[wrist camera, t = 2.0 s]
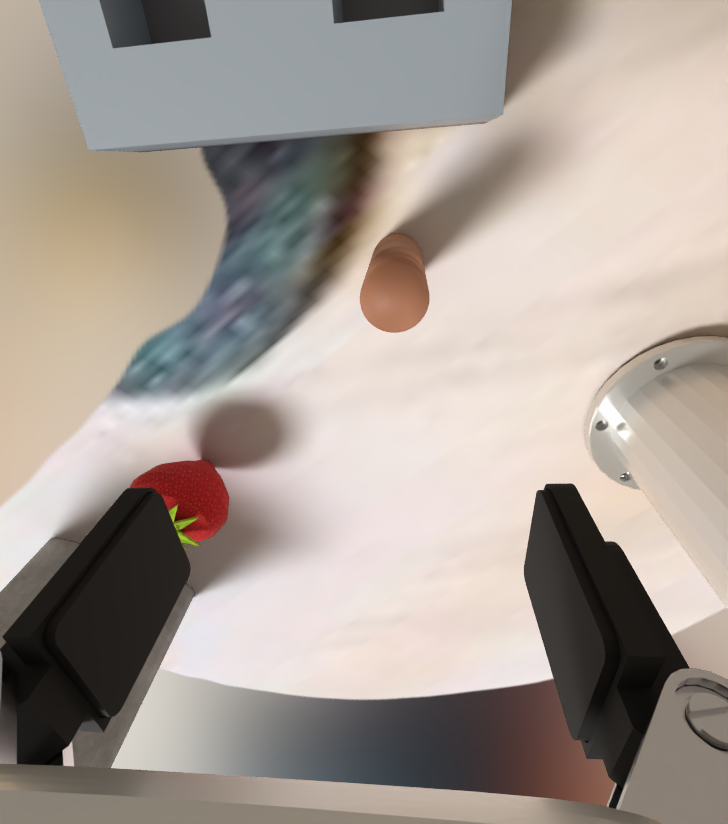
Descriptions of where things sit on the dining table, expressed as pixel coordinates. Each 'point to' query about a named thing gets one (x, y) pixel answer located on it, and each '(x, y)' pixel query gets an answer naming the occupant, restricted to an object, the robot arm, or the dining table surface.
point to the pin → (395, 285)
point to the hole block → (276, 68)
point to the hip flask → (105, 745)
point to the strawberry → (190, 497)
